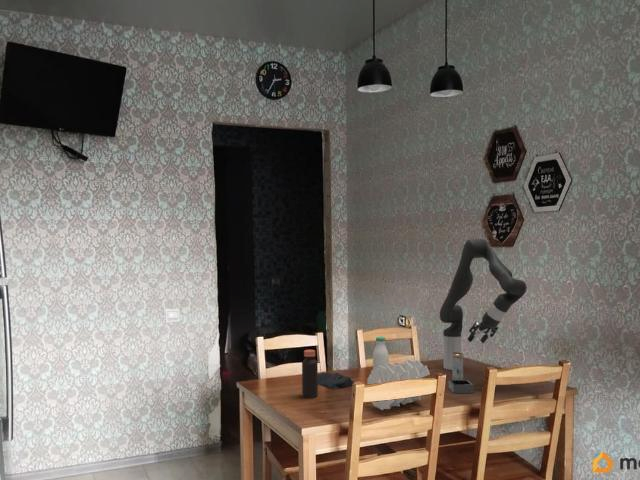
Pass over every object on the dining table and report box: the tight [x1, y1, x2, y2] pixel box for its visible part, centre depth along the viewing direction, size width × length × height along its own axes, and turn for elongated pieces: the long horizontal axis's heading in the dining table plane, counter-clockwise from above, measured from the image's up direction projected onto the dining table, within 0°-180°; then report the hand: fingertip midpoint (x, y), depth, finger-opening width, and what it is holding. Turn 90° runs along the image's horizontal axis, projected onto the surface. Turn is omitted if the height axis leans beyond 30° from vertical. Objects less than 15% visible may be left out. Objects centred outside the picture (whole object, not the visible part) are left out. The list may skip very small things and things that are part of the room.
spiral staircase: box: [366, 358, 430, 411], centre depth 239 cm, size 18×18×25 cm
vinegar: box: [301, 349, 319, 399], centre depth 253 cm, size 7×7×20 cm
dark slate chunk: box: [318, 371, 355, 390], centre depth 276 cm, size 15×22×5 cm
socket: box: [448, 379, 475, 394], centre depth 260 cm, size 9×9×4 cm
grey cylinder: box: [452, 352, 465, 380], centre depth 273 cm, size 5×5×14 cm
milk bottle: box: [372, 336, 390, 370], centre depth 284 cm, size 8×8×20 cm
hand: (475, 341), depth 269 cm, fingers open, 8 cm apart
